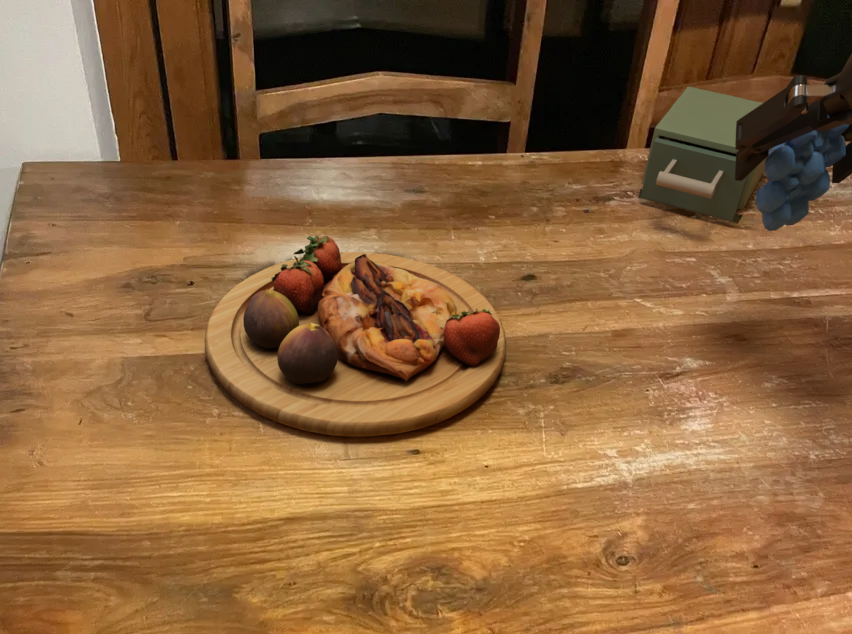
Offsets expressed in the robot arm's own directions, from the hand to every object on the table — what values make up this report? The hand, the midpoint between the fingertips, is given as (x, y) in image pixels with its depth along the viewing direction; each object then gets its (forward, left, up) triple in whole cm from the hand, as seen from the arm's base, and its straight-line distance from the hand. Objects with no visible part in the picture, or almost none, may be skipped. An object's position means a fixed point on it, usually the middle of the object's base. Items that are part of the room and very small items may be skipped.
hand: (787, 168), depth 96 cm
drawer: (+12, -23, -15) cm, 30 cm away
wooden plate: (+35, +29, -17) cm, 48 cm away
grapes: (-1, +3, -4) cm, 5 cm away
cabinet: (+12, -28, -16) cm, 35 cm away
